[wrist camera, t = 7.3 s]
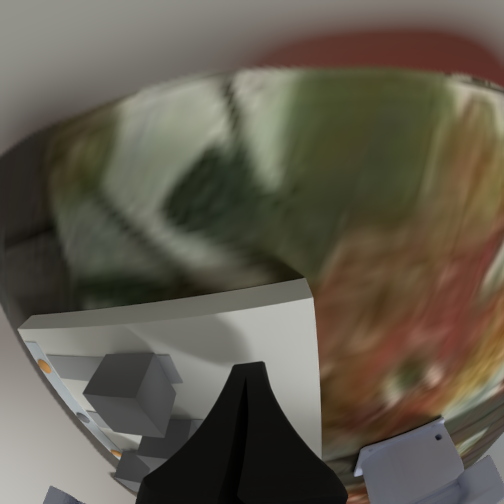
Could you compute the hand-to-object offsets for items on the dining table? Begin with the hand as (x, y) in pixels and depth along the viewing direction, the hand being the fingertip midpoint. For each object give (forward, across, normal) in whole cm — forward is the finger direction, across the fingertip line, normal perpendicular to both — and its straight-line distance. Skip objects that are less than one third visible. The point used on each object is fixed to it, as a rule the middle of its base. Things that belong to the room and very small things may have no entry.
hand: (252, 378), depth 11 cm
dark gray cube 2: (+1, +6, +6) cm, 8 cm away
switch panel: (+3, +6, +6) cm, 9 cm away
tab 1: (+1, +11, +11) cm, 16 cm away
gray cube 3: (+1, +6, 0) cm, 6 cm away
